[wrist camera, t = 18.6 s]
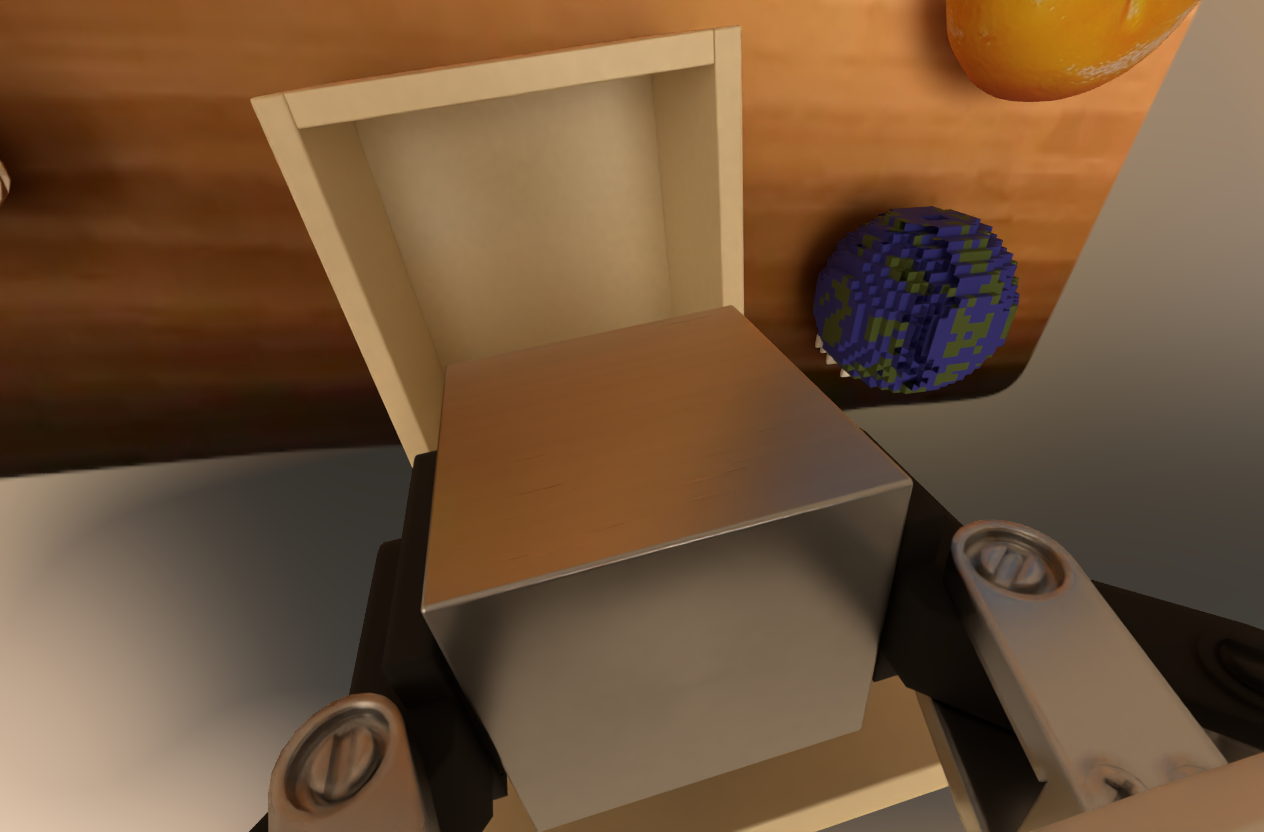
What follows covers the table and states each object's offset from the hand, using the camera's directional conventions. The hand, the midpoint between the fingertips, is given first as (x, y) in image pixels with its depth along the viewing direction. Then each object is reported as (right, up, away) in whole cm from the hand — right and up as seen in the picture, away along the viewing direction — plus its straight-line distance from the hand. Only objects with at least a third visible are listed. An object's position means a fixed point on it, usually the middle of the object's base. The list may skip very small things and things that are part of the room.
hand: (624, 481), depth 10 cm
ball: (+12, +8, +19) cm, 24 cm away
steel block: (0, +1, +1) cm, 1 cm away
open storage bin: (-4, +9, +14) cm, 17 cm away
